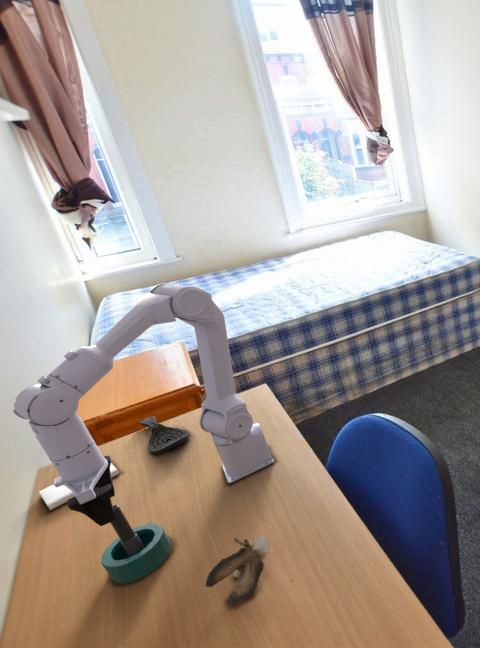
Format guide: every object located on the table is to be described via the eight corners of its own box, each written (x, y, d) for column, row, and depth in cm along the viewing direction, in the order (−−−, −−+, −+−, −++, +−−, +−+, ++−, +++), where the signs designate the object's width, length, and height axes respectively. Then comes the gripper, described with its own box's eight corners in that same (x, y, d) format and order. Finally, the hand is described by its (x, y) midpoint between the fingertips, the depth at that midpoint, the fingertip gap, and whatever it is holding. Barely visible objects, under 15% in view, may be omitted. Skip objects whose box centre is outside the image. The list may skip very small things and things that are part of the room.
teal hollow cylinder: (169, 531, 91) (160, 515, 89) (173, 561, 84) (164, 544, 83) (111, 559, 86) (101, 543, 84) (111, 593, 79) (100, 577, 78)
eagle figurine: (226, 555, 83) (196, 596, 74) (240, 523, 82) (211, 561, 73) (268, 569, 84) (243, 612, 75) (282, 538, 83) (259, 577, 74)
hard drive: (41, 496, 104) (108, 462, 113) (51, 511, 99) (120, 474, 108) (38, 491, 103) (105, 456, 112) (47, 505, 99) (117, 468, 108)
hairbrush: (159, 404, 130) (192, 429, 115) (164, 415, 131) (198, 441, 116) (123, 420, 124) (154, 449, 109) (129, 432, 126) (160, 461, 110)
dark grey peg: (148, 549, 86) (119, 501, 83) (148, 556, 85) (119, 507, 81) (132, 558, 85) (103, 509, 82) (132, 565, 83) (102, 515, 80)
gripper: (44, 440, 81) (81, 499, 86) (35, 484, 70) (77, 548, 76) (95, 422, 85) (127, 479, 90) (94, 461, 74) (130, 523, 80)
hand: (108, 509), depth 83 cm, fingers open, 7 cm apart
